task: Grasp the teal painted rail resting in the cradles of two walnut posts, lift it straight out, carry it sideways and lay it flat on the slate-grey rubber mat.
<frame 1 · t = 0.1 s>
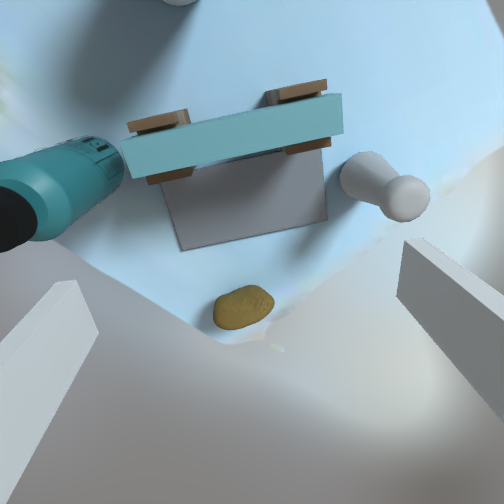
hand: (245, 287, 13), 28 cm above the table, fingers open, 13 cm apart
potato: (240, 290, 46), on the table
mat: (247, 198, 40), on the table
post a: (177, 137, 36), on the table
post b: (286, 113, 35), on the table
rail: (232, 132, 28), point 8 cm above the table, touching post a, post b
beverage bottle: (102, 162, 37), on the table
salt shaker: (356, 171, 39), on the table
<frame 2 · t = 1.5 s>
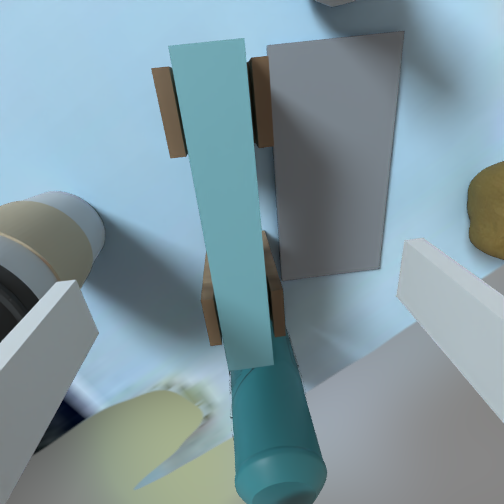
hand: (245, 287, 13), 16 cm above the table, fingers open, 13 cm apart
potato: (470, 197, 29), on the table
mat: (331, 175, 27), on the table
post a: (238, 252, 30), on the table
post b: (219, 105, 24), on the table
rail: (232, 219, 20), point 8 cm above the table, touching post a, post b
beverage bottle: (257, 325, 34), on the table
coffee cup: (66, 228, 27), on the table
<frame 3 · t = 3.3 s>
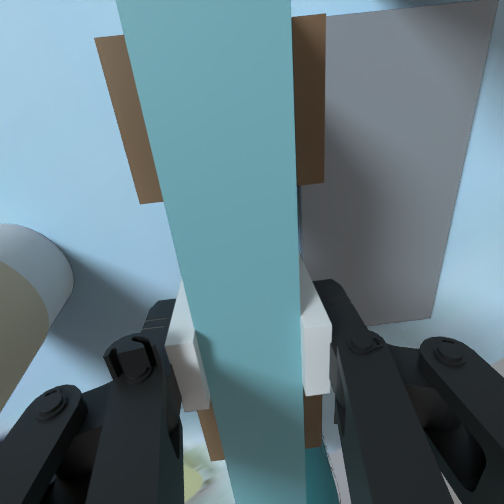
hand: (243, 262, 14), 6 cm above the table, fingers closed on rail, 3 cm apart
mat: (375, 201, 20), on the table
post a: (249, 299, 23), on the table
post b: (225, 107, 17), on the table
rail: (245, 285, 13), point 8 cm above the table, touching gripper
beverage bottle: (271, 382, 27), on the table
coffee cup: (22, 270, 21), on the table
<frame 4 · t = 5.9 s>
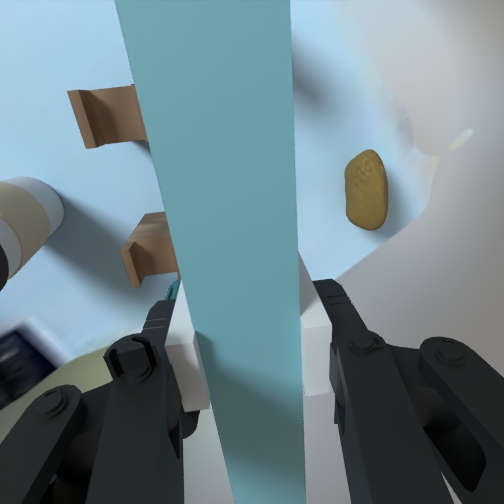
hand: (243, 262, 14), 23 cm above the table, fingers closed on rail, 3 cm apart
potato: (352, 183, 38), on the table
post a: (171, 226, 38), on the table
post b: (143, 111, 32), on the table
rail: (245, 285, 13), point 25 cm above the table, touching gripper
beverage bottle: (193, 288, 42), on the table
coffee cup: (33, 205, 36), on the table
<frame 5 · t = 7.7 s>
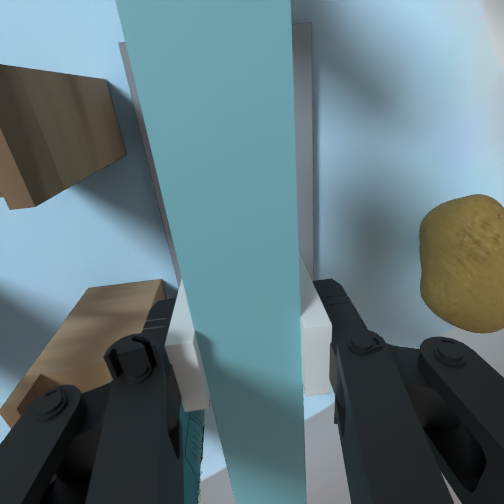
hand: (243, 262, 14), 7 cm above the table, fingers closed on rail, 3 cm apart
potato: (426, 237, 23), on the table
mat: (238, 212, 21), on the table
post a: (132, 305, 24), on the table
post b: (70, 124, 18), on the table
rail: (245, 285, 13), point 9 cm above the table, touching gripper
beverage bottle: (172, 385, 28), on the table
when the fingers open (2 cm above the table, at t = 9.0 s): rail drops 3 cm, resting on mat.
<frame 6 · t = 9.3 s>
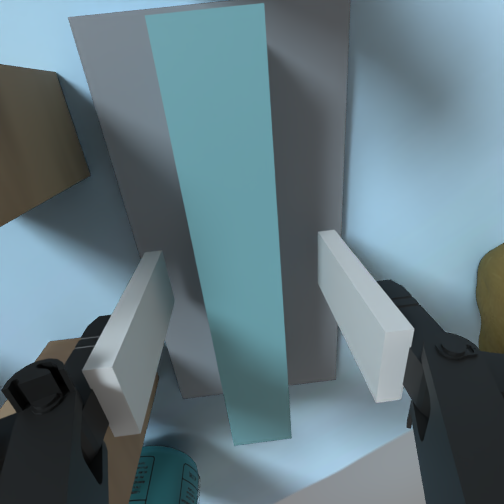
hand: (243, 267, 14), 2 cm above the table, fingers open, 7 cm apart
potato: (481, 276, 18), on the table
mat: (241, 248, 16), on the table
post a: (107, 360, 19), on the table
post b: (9, 134, 13), on the table
rail: (240, 253, 15), point 1 cm above the table, touching mat
beverage bottle: (160, 447, 23), on the table
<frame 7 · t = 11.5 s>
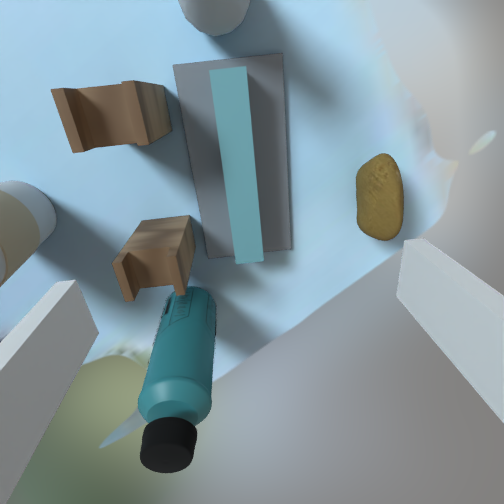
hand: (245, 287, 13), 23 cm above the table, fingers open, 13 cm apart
potato: (364, 188, 35), on the table
mat: (240, 168, 33), on the table
post a: (169, 233, 36), on the table
post b: (140, 111, 30), on the table
rail: (239, 170, 32), point 1 cm above the table, touching mat
beverage bottle: (193, 298, 40), on the table
salt shaker: (215, 0, 26), on the table
coffee cup: (24, 211, 34), on the table
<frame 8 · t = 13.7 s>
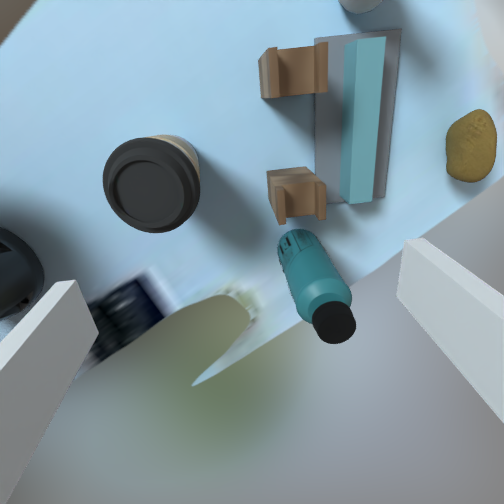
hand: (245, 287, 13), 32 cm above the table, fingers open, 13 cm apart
potato: (448, 144, 42), on the table
mat: (352, 126, 40), on the table
post a: (286, 183, 43), on the table
post b: (281, 77, 37), on the table
rail: (353, 126, 40), point 1 cm above the table, touching mat
beverage bottle: (295, 242, 47), on the table
coffee cup: (173, 162, 41), on the table
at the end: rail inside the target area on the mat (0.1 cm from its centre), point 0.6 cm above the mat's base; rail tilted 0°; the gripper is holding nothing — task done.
